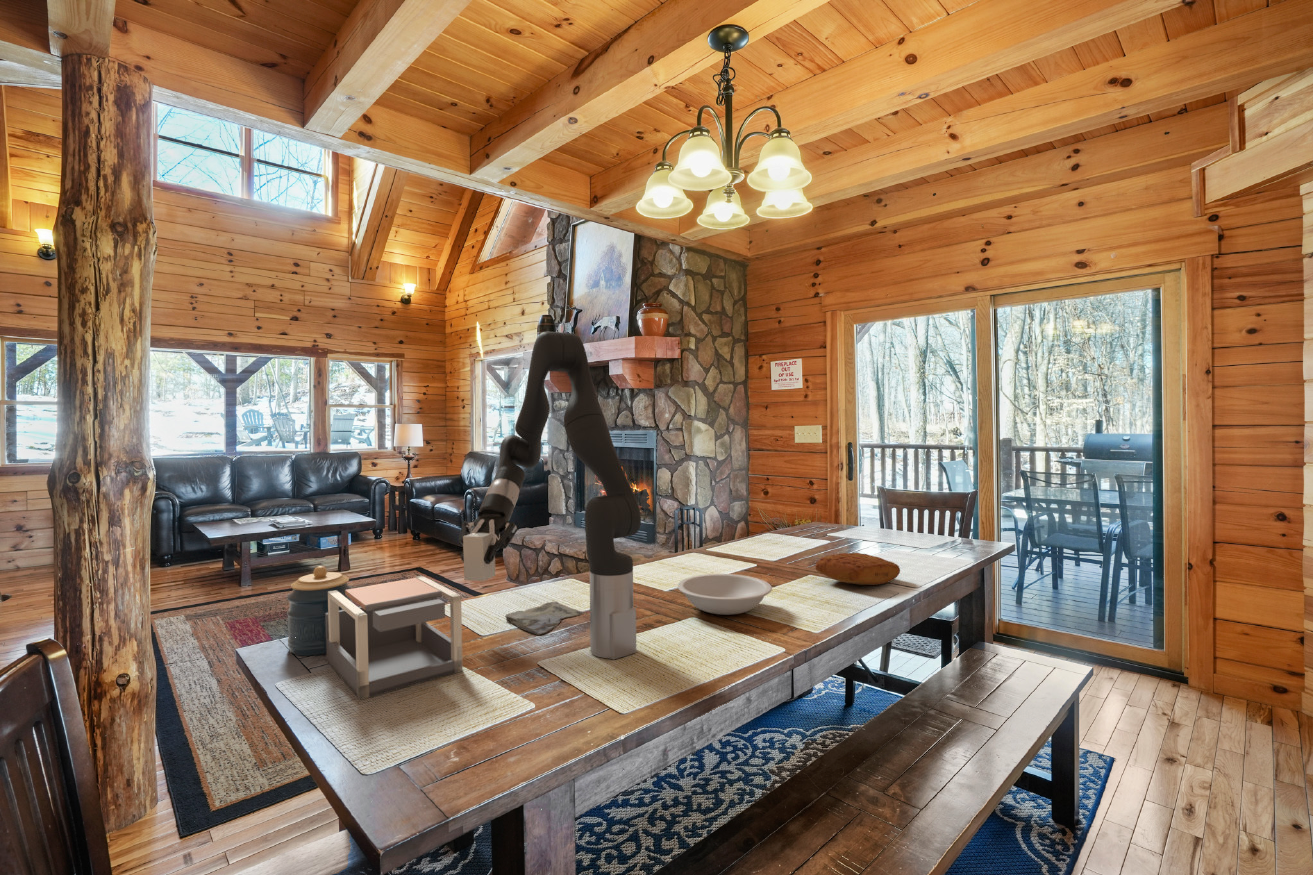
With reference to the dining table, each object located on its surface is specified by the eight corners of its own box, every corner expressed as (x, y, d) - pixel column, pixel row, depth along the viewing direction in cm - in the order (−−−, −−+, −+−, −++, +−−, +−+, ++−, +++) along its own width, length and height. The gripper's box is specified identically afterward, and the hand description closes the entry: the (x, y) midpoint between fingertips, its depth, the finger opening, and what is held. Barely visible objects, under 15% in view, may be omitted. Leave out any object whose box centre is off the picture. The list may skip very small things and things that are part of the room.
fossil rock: (550, 607, 166) (550, 598, 166) (592, 618, 157) (592, 609, 157) (496, 625, 152) (496, 615, 152) (539, 638, 143) (539, 628, 143)
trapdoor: (345, 609, 126) (345, 589, 126) (415, 596, 135) (415, 577, 135) (373, 633, 112) (373, 610, 112) (450, 616, 121) (449, 595, 121)
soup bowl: (791, 614, 157) (792, 588, 157) (718, 633, 144) (718, 604, 144) (729, 592, 177) (729, 569, 177) (659, 607, 164) (659, 582, 163)
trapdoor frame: (462, 670, 123) (461, 595, 123) (359, 699, 111) (357, 616, 110) (419, 639, 141) (417, 573, 141) (326, 661, 129) (324, 589, 128)
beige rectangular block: (495, 575, 145) (494, 532, 145) (484, 581, 140) (482, 536, 140) (476, 574, 146) (474, 532, 146) (464, 580, 142) (463, 536, 141)
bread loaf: (856, 595, 173) (856, 567, 173) (809, 582, 187) (809, 555, 187) (905, 583, 185) (905, 556, 185) (858, 571, 199) (858, 546, 199)
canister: (343, 631, 147) (341, 556, 146) (363, 645, 138) (361, 566, 137) (280, 645, 138) (278, 566, 137) (297, 662, 128) (295, 576, 128)
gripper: (467, 492, 152) (440, 551, 141) (521, 492, 148) (497, 553, 137) (479, 510, 157) (454, 569, 146) (531, 511, 153) (509, 571, 142)
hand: (475, 561), depth 141 cm, fingers closed on beige rectangular block, 5 cm apart
